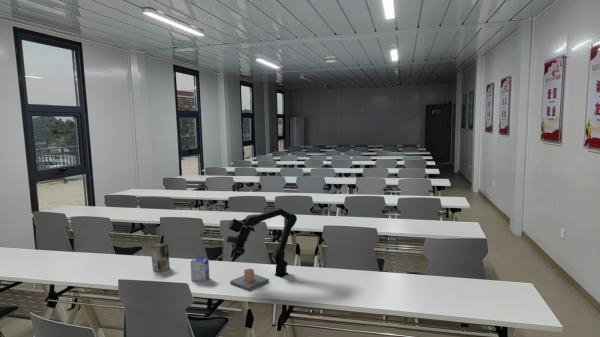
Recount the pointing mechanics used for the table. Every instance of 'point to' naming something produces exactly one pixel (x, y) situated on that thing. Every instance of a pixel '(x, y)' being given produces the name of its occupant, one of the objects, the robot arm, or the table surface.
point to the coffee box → (160, 257)
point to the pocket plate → (249, 285)
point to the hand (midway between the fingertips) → (231, 259)
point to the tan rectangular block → (249, 275)
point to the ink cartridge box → (199, 269)
